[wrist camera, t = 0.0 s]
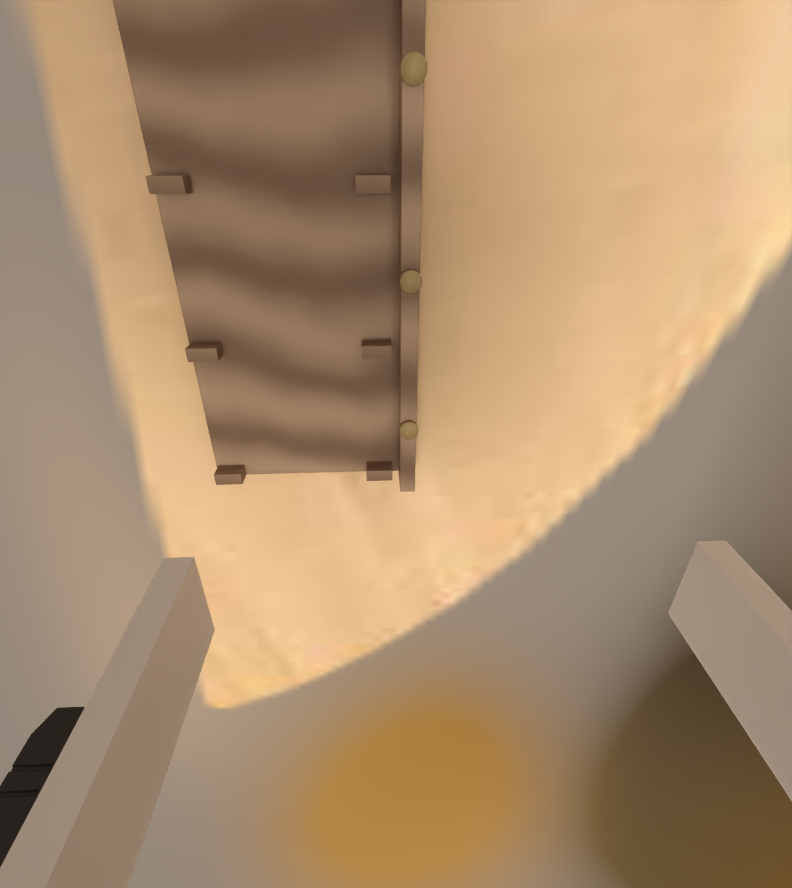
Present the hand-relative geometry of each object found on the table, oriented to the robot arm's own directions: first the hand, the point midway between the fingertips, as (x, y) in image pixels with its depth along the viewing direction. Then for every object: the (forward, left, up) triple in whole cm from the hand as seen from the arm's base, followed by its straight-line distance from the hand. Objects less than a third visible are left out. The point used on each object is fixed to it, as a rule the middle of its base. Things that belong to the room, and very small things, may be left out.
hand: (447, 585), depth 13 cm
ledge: (-3, -7, -28) cm, 29 cm away
